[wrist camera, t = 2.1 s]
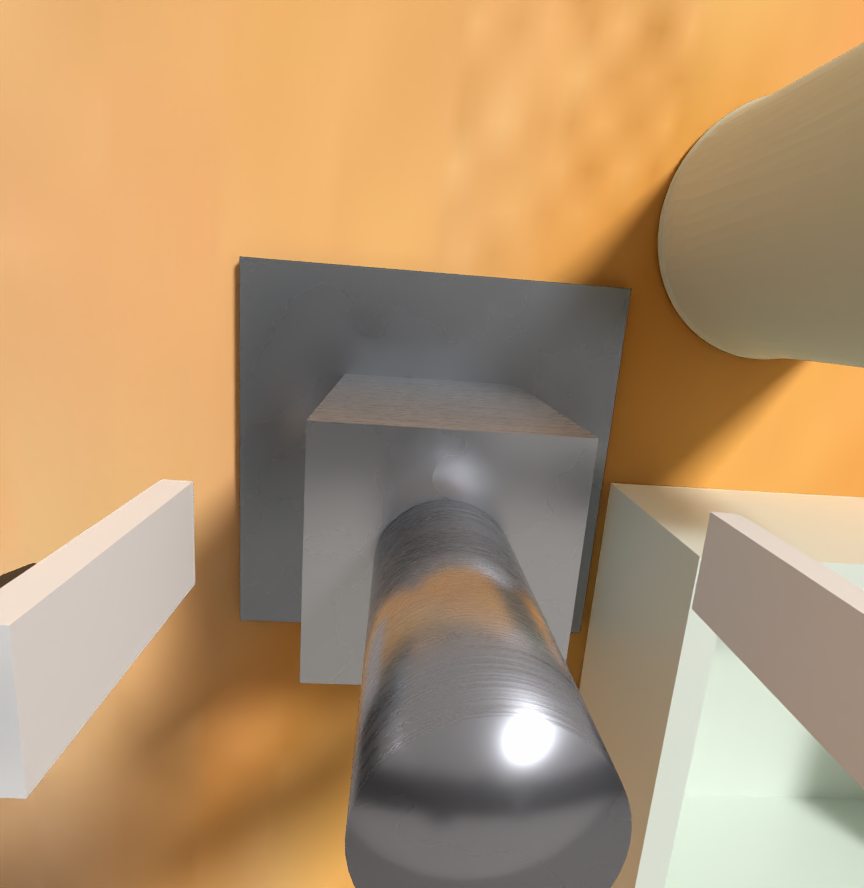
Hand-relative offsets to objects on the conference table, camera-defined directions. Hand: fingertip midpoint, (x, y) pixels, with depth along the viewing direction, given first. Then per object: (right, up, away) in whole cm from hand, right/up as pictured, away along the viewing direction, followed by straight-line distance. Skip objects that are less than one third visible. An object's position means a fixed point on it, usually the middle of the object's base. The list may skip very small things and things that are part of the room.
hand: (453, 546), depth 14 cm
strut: (-1, +2, +7) cm, 8 cm away
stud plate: (-1, +2, +8) cm, 8 cm away
